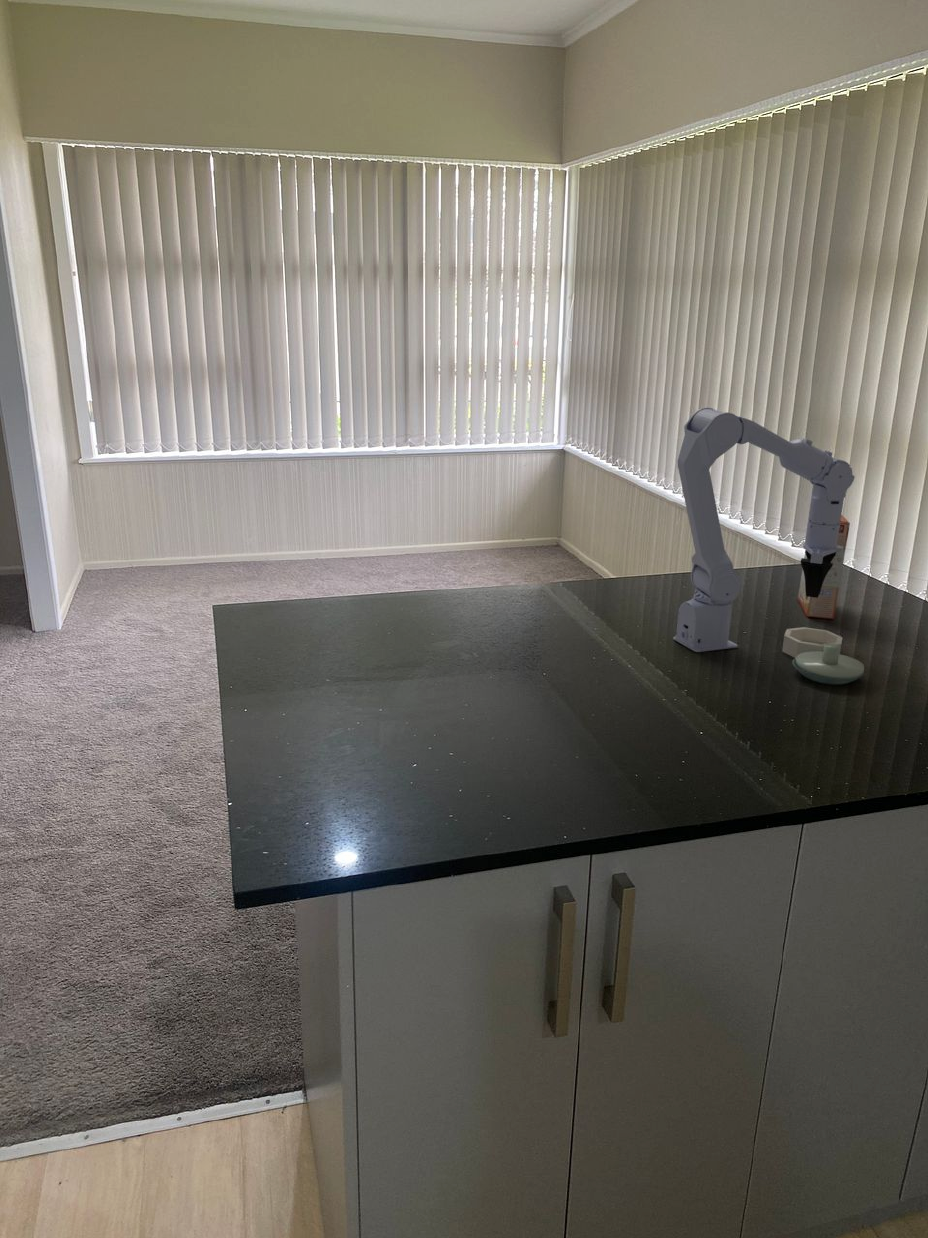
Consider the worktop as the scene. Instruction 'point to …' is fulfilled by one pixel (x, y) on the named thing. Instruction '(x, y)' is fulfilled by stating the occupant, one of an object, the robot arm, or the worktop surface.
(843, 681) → the saucer
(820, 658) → the lid
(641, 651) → the worktop surface
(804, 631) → the bowl
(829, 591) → the cracker box
